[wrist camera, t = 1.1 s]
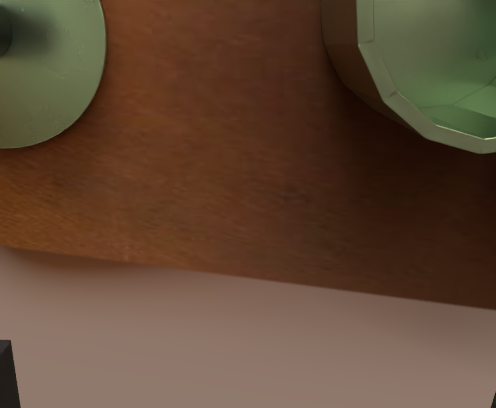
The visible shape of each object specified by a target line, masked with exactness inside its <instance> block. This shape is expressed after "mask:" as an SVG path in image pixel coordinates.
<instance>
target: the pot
mask: <svg viewBox="0 0 496 408" xmlns="http://www.w3.org/2000/svg"><path fill="white" fill-rule="evenodd" d="M321 26H322V34H323V43H324V46H325V48H326V50H327V53H328V55H329V58H330V60H331V63H332V64H333V66H334V68H335V70H336V72H337V73H338V75H339V77H340V79H341V81H342V83H343V84H344V85H345V86H347V87H348V88H349V89H350V90H351V91H352V92H353V93H354V94H355V95H356V96H358V97H359V98H361V99H362V100H363V101H364V102H365V103H366V104H368V105H369V106H370V107H371V108H372V109H374V110H376V111H377V112H379V113H381V114H383V115H385V116H386V117H388V118H390V119H392V120H393V121H395V122H397V123H399V124H401V125H402V126H404V127H406V128H408V129H409V130H411V131H413V132H415V133H417V134H418V135H420V136H422V137H424V138H426V139H428V140H432V141H435V142H439V143H442V144H446V145H449V146H453V147H456V148H460V149H463V150H467V151H470V152H474V153H477V154H485V153H494V152H496V0H321Z"/></svg>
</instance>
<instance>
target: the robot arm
mask: <svg viewBox="0 0 496 408" xmlns="http://www.w3.org/2000/svg"><path fill="white" fill-rule="evenodd" d="M0 408H21V407H20V401H19V393H18V387H17V381H16V373H15V366H14V360H13V353H12V346H11V341H10V340H0ZM491 408H496V393H495V396H494V399H493V402H492V406H491Z"/></svg>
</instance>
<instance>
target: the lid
mask: <svg viewBox="0 0 496 408" xmlns="http://www.w3.org/2000/svg"><path fill="white" fill-rule="evenodd" d="M107 54H108V29H107V23H106V16H105V11H104V8H103V4H102V0H0V148H20V147H26V146H31V145H35V144H38V143H41V142H44V141H47V140H49V139H50V138H52V137H54V136H56V135H58V134H60V133H62V132H63V131H65V130H66V129H68V128H69V127H70V126H72V125H73V124H74V123H75V122H76V121H77V120H78V119H79V118H80V117H81V116H82V115H83V114H84V113H85V111H86V110H87V109H88V107H89V106H90V105H91V103H92V101H93V100H94V98H95V96H96V94H97V92H98V90H99V87H100V85H101V82H102V80H103V76H104V72H105V68H106V64H107Z"/></svg>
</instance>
